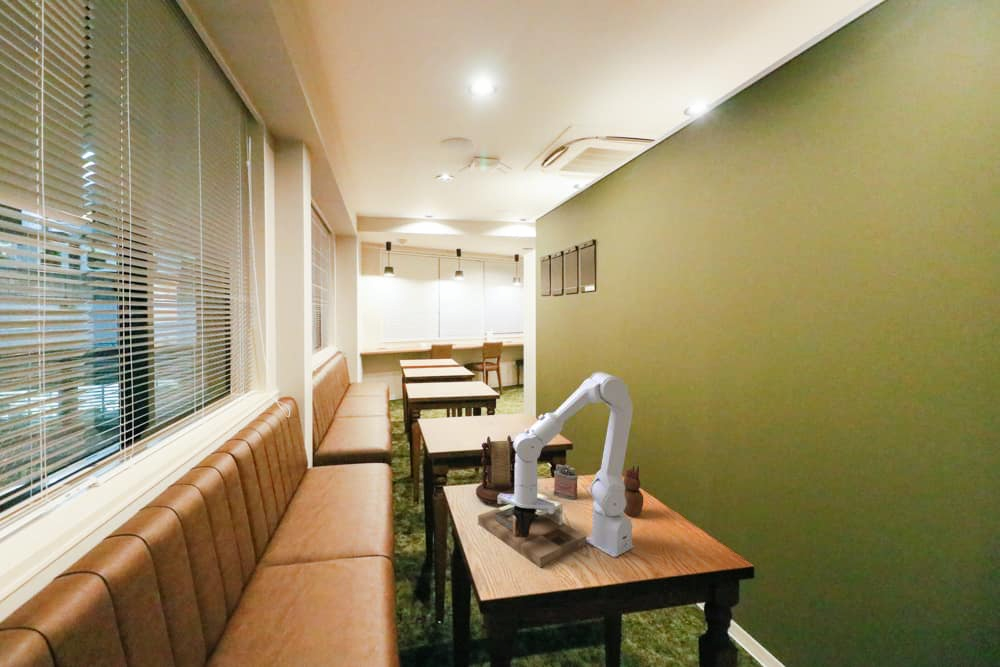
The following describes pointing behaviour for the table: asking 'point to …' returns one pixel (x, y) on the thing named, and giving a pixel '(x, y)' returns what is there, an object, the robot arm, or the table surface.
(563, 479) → the lighter
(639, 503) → the wooden figurine
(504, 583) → the table surface
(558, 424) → the robot arm
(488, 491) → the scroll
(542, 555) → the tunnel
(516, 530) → the carriage
